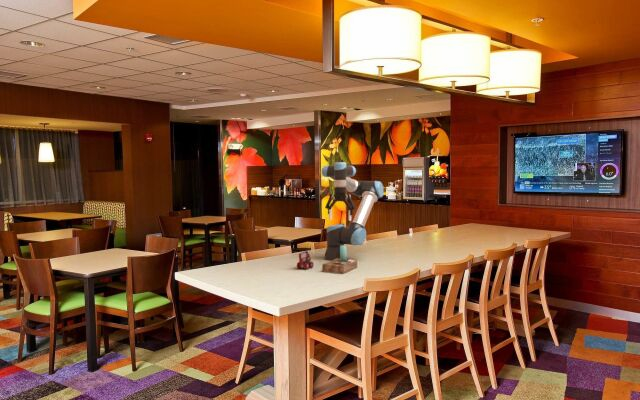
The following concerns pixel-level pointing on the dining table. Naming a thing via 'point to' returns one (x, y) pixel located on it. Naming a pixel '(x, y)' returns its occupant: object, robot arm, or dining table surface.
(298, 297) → the dining table surface
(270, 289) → the dining table surface
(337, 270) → the socket board
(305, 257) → the dark red rounded figure
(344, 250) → the plug
